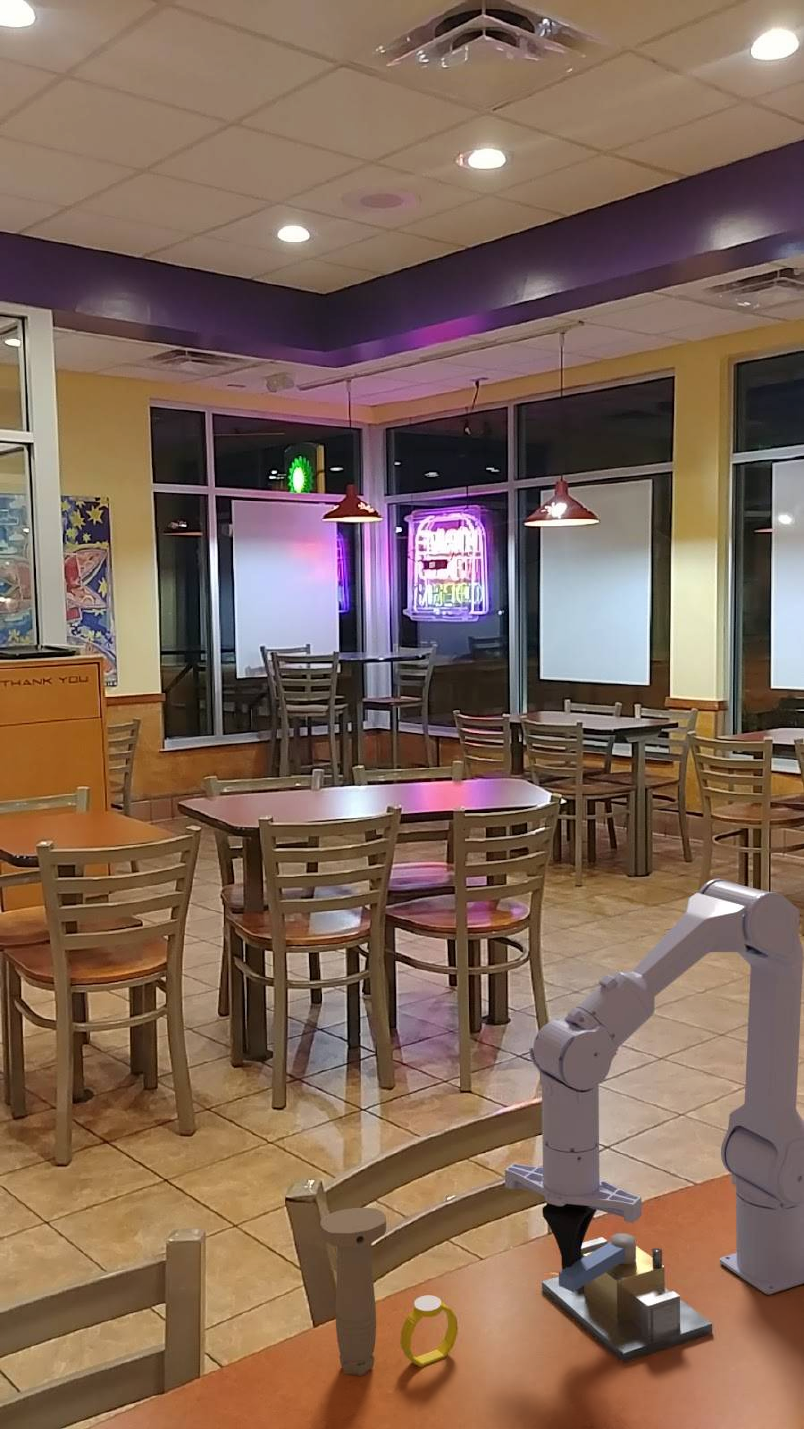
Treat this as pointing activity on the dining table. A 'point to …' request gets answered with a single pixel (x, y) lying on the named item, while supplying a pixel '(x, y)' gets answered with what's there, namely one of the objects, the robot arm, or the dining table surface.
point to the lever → (599, 1262)
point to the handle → (355, 1283)
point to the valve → (630, 1307)
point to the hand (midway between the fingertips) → (572, 1270)
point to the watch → (428, 1308)
